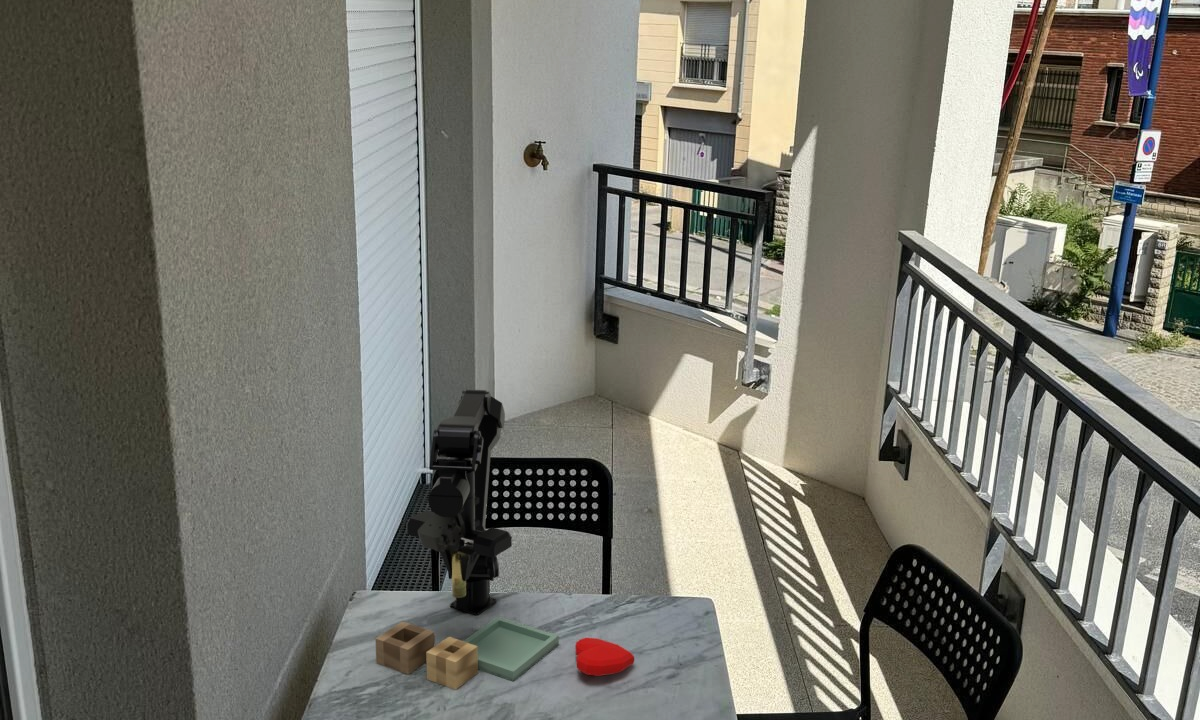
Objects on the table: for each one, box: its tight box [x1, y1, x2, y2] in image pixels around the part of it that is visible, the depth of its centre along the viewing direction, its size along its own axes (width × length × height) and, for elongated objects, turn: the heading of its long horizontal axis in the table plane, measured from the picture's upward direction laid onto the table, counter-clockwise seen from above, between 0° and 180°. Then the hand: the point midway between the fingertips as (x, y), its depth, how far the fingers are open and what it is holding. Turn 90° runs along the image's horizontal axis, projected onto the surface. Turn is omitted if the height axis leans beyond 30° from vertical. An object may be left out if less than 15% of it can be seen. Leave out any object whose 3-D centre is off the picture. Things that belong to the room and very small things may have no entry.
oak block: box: [426, 636, 479, 690], centre depth 182 cm, size 6×6×5 cm
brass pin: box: [451, 550, 466, 599], centre depth 190 cm, size 2×2×8 cm
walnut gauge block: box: [375, 620, 436, 675], centre depth 186 cm, size 7×7×5 cm
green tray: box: [462, 616, 560, 682], centre depth 190 cm, size 14×13×2 cm
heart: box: [574, 637, 635, 676], centre depth 186 cm, size 12×4×10 cm
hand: (459, 578), depth 190 cm, fingers closed on brass pin, 2 cm apart
